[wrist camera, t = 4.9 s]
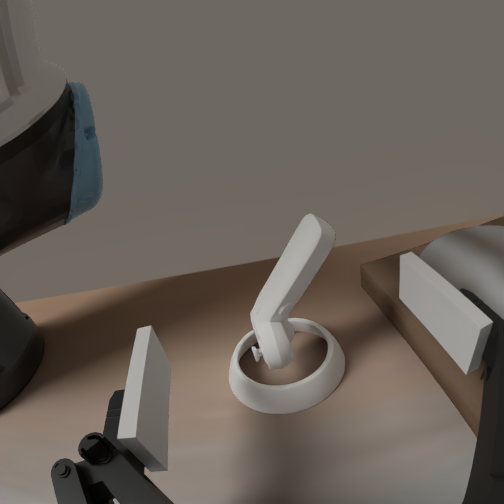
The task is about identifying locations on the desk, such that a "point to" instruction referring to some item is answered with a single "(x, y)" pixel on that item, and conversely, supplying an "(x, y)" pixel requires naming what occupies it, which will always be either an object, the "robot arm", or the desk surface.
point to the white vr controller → (289, 327)
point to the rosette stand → (460, 276)
